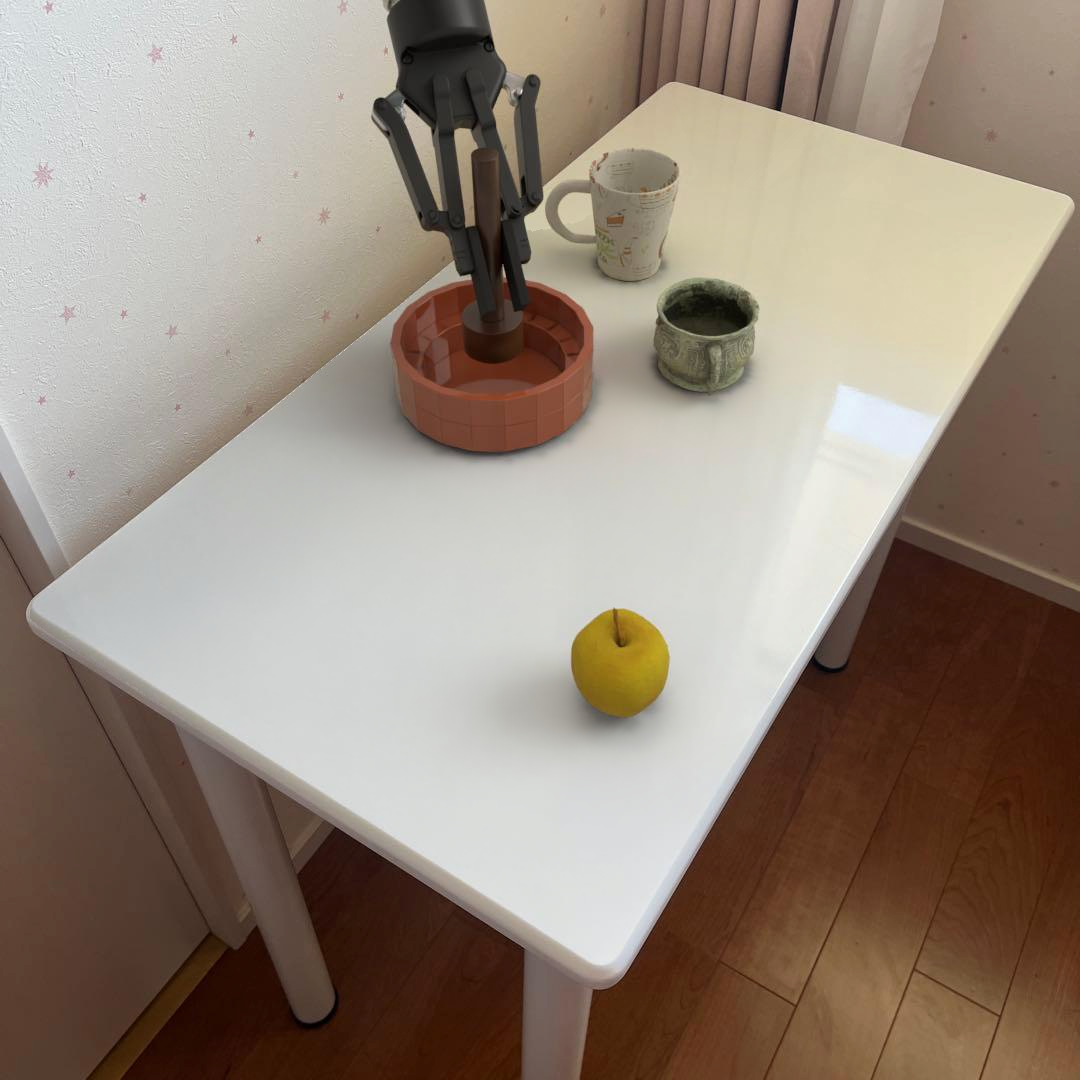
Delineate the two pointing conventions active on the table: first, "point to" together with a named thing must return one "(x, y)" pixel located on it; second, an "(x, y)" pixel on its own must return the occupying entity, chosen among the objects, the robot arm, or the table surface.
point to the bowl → (492, 371)
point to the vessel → (704, 333)
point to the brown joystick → (491, 271)
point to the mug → (624, 210)
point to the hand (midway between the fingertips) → (505, 310)
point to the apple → (620, 662)
